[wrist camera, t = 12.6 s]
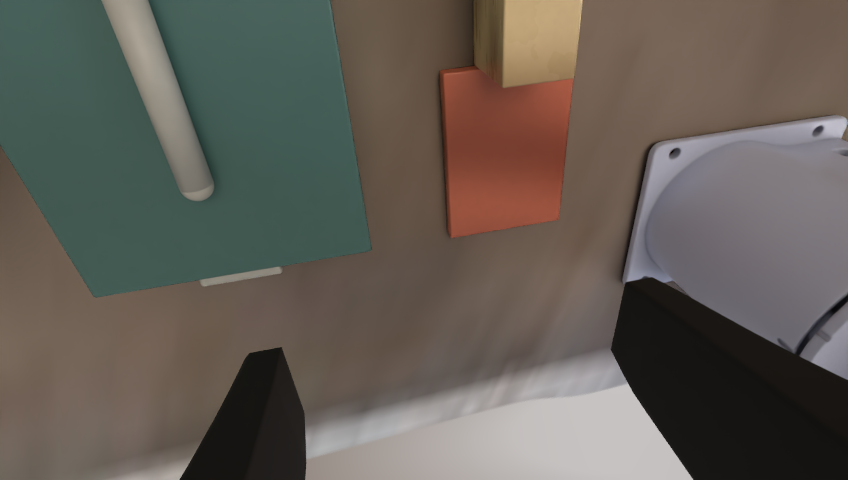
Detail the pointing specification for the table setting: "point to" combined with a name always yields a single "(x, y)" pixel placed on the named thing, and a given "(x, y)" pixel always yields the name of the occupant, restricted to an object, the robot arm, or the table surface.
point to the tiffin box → (182, 136)
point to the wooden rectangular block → (510, 115)
